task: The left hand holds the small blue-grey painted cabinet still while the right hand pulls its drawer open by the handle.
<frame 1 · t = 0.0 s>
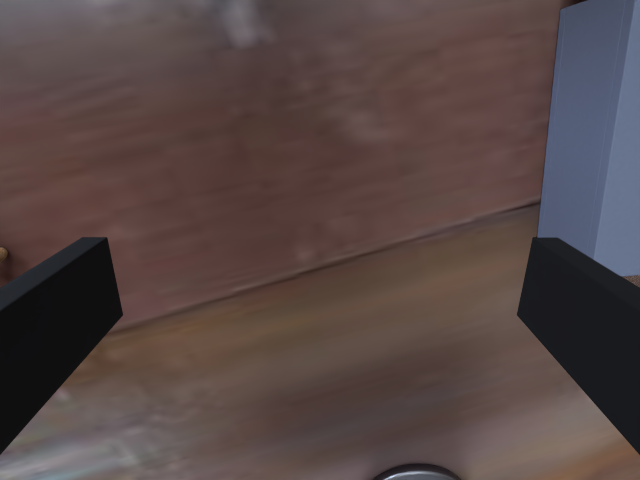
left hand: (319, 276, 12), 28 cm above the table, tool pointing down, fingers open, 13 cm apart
cabinet: (603, 131, 38), on the table
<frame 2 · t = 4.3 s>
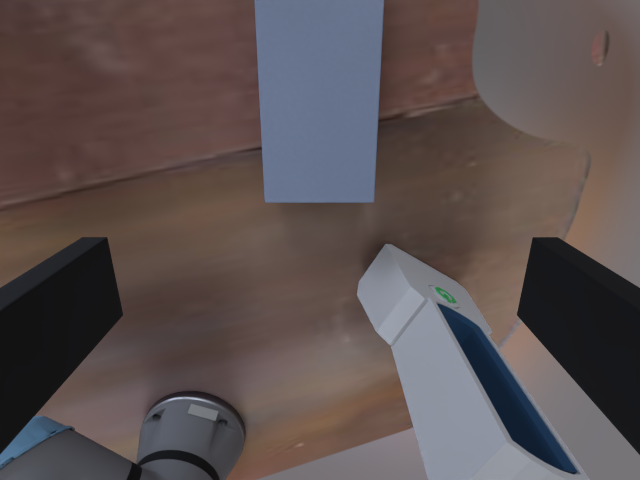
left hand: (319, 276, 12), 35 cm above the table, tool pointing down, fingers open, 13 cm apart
electronic device: (408, 283, 52), on the table
cabinet: (319, 84, 43), on the table
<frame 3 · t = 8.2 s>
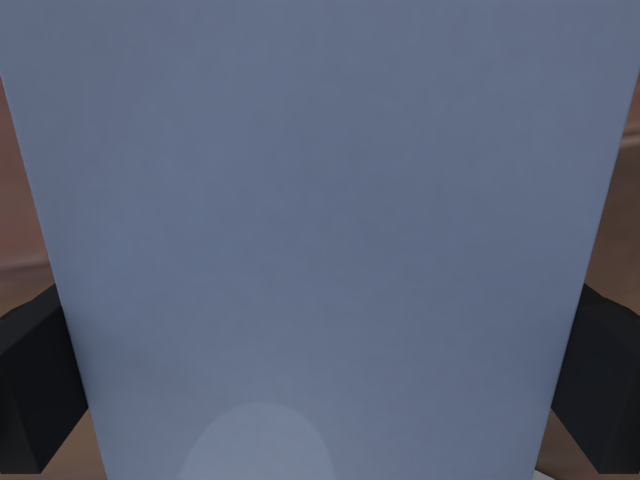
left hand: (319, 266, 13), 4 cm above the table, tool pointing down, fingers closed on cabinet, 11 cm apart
cabinet: (319, 69, 15), on the table, touching left hand
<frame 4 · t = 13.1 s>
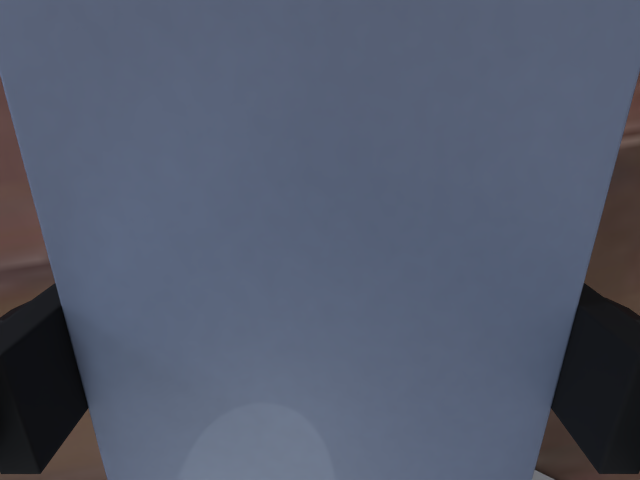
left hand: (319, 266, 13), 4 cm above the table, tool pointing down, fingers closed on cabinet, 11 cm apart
cabinet: (319, 69, 15), on the table, touching left hand
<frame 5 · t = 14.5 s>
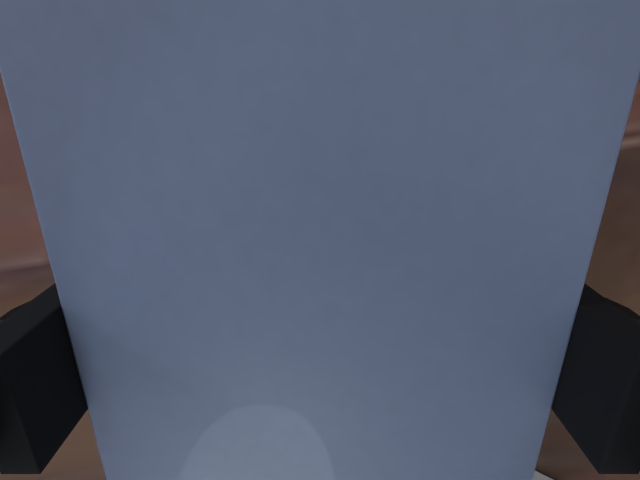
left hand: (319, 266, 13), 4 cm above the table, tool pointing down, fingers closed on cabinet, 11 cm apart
cabinet: (320, 70, 15), on the table, touching left hand
when the left hand's fingers open (4 cm above the table, at t = 16.5 s): cabinet stays where it is, on the table.
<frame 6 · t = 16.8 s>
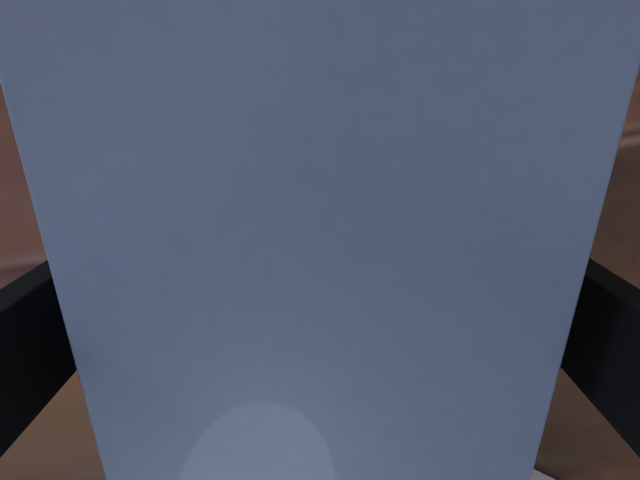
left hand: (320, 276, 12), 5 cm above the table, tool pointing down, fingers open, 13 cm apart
cabinet: (319, 68, 15), on the table
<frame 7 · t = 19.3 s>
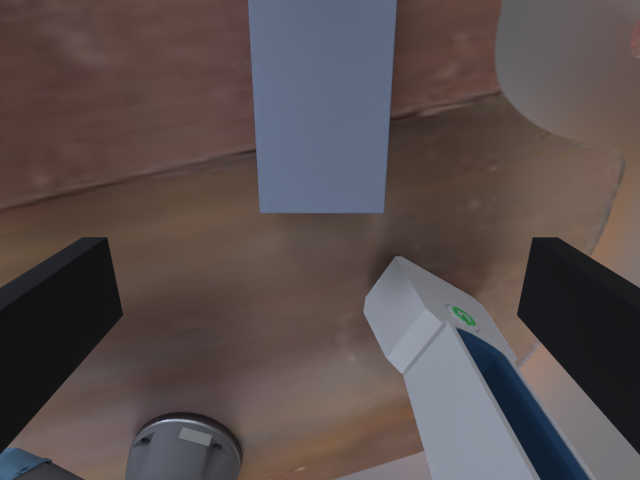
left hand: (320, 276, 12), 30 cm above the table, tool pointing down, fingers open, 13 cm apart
electronic device: (419, 298, 47), on the table
cabinet: (322, 79, 38), on the table
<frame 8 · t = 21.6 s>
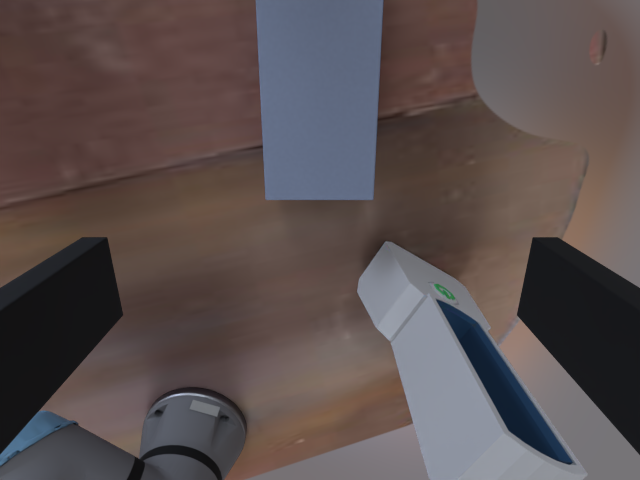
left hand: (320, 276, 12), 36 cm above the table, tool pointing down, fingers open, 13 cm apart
electronic device: (407, 280, 52), on the table
cabinet: (319, 83, 44), on the table
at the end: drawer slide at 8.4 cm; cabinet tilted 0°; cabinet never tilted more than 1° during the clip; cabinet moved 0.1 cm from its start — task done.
